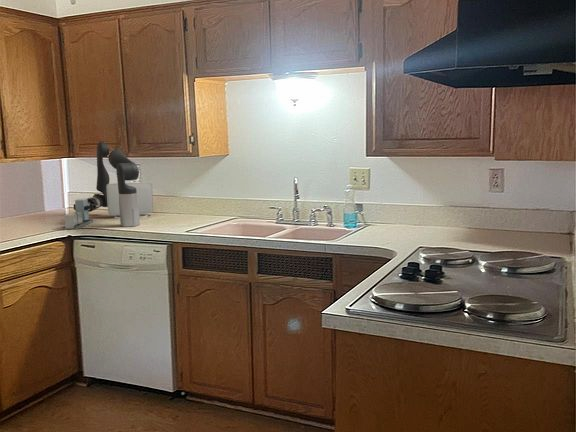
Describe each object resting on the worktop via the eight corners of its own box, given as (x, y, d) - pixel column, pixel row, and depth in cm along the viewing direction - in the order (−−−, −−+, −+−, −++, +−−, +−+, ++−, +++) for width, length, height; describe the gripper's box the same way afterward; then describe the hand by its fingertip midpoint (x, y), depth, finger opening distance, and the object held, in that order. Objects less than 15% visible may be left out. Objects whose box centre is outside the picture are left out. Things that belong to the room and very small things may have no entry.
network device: (108, 219, 335) (106, 184, 332) (108, 217, 344) (106, 183, 341) (154, 216, 343) (152, 182, 340) (152, 214, 351) (150, 181, 348)
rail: (79, 222, 325) (78, 209, 324) (92, 222, 325) (92, 208, 324) (62, 229, 302) (61, 215, 301) (77, 229, 302) (76, 214, 301)
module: (80, 218, 324) (79, 198, 322) (88, 218, 323) (87, 198, 322) (76, 220, 318) (74, 199, 316) (84, 220, 318) (83, 199, 316)
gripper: (78, 197, 333) (66, 201, 316) (103, 197, 333) (92, 201, 316) (79, 210, 334) (67, 215, 318) (104, 210, 334) (93, 215, 317)
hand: (80, 208), depth 317 cm, fingers closed on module, 4 cm apart
